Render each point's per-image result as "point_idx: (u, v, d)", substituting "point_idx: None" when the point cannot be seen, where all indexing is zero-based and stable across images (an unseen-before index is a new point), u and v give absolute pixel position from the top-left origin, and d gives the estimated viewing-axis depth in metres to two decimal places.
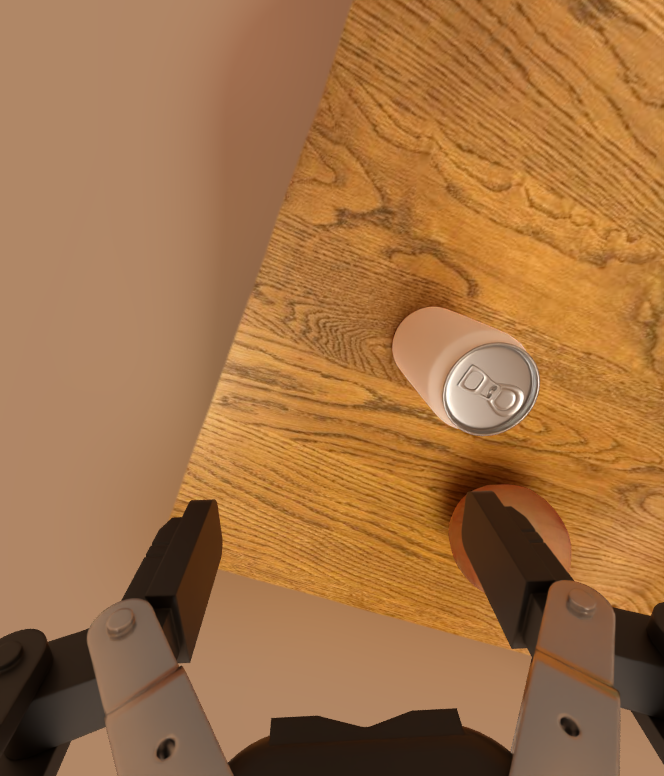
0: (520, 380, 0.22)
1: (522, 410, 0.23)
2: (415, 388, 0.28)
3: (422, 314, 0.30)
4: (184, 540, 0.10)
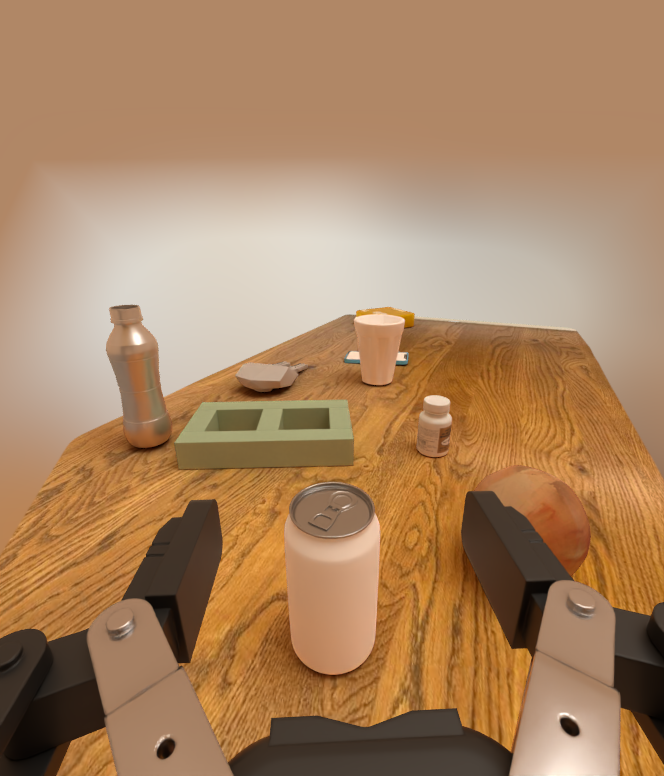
0: (325, 494, 0.27)
1: (351, 490, 0.28)
2: (357, 604, 0.25)
3: (291, 629, 0.28)
4: (184, 540, 0.10)
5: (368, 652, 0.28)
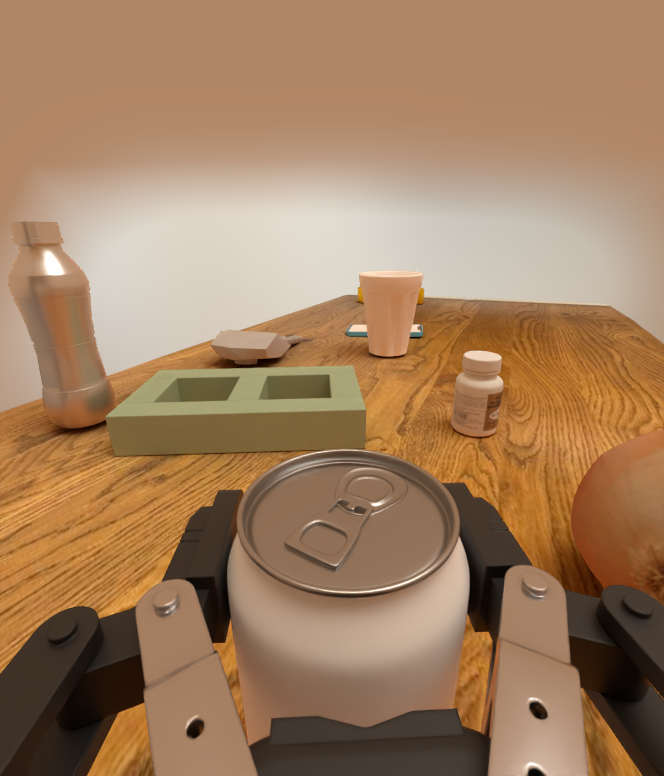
0: (329, 473, 0.12)
1: (389, 467, 0.12)
2: None
3: None
4: (217, 527, 0.11)
5: None
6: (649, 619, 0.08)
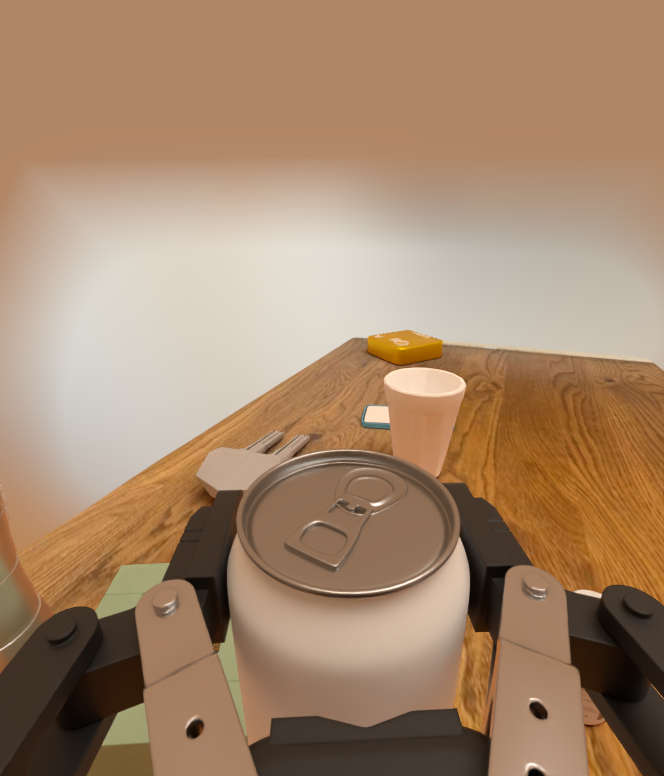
0: (329, 474, 0.12)
1: (389, 467, 0.12)
2: None
3: None
4: (216, 527, 0.11)
5: None
6: (650, 619, 0.08)
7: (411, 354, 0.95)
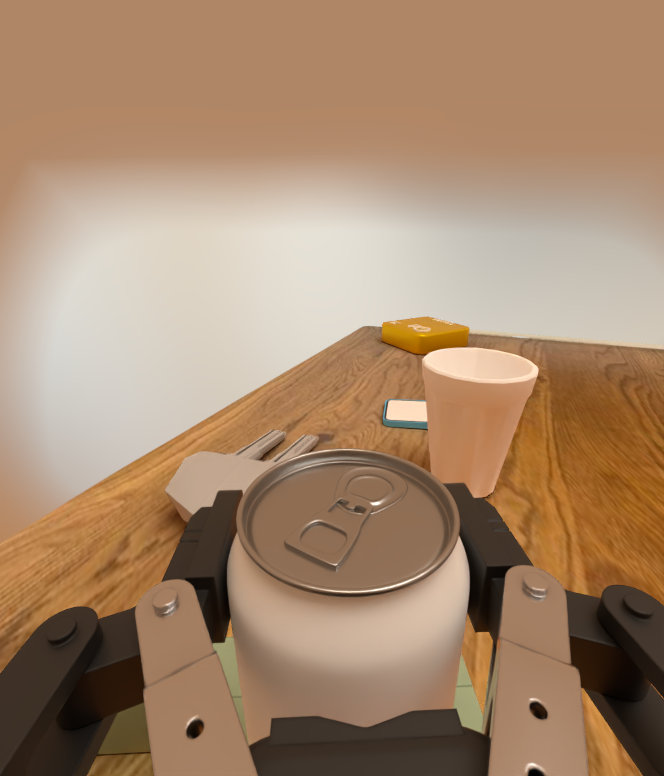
0: (329, 473, 0.12)
1: (389, 466, 0.12)
2: None
3: None
4: (216, 527, 0.11)
5: None
6: (649, 619, 0.08)
7: (434, 342, 0.82)
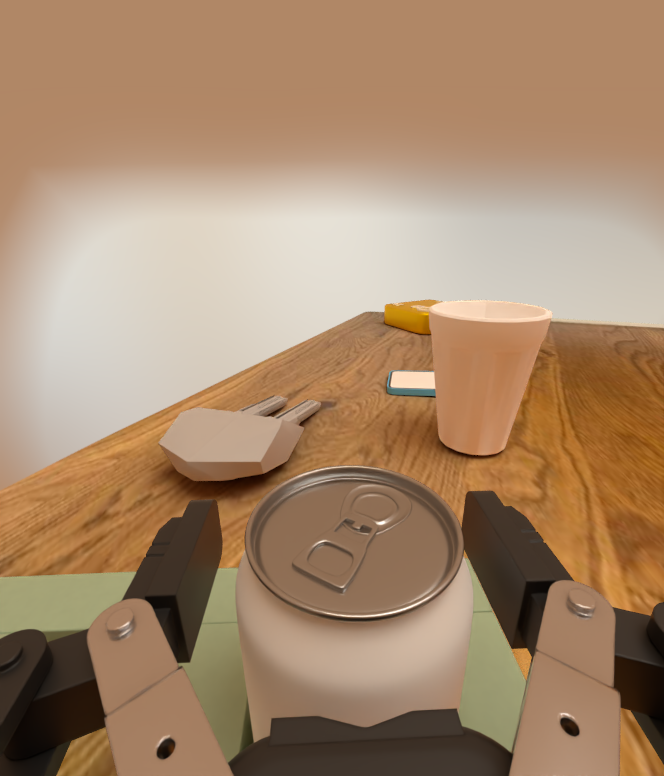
0: (334, 491, 0.12)
1: (393, 484, 0.12)
2: None
3: None
4: (184, 540, 0.10)
5: None
6: None
7: None
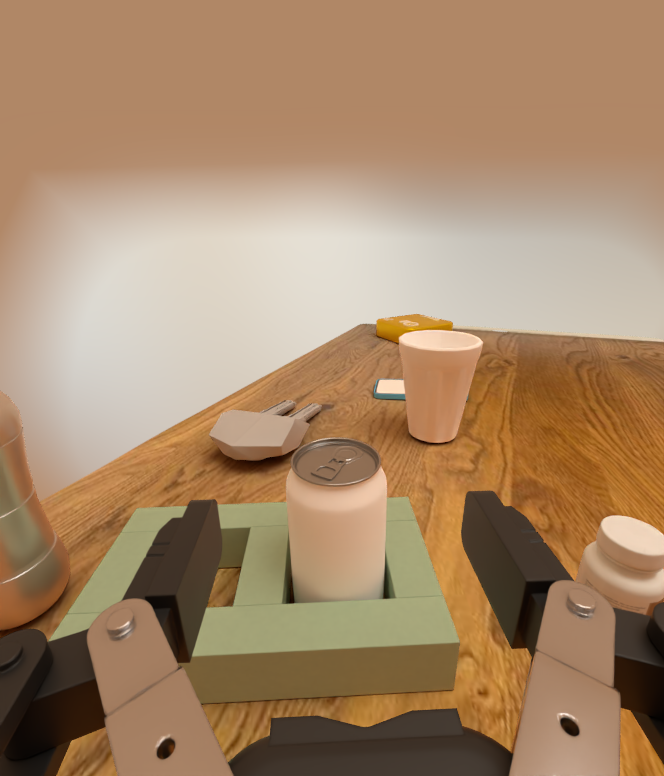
0: (328, 448, 0.26)
1: (356, 445, 0.27)
2: (364, 560, 0.24)
3: (295, 592, 0.26)
4: (184, 540, 0.10)
5: None
6: None
7: None
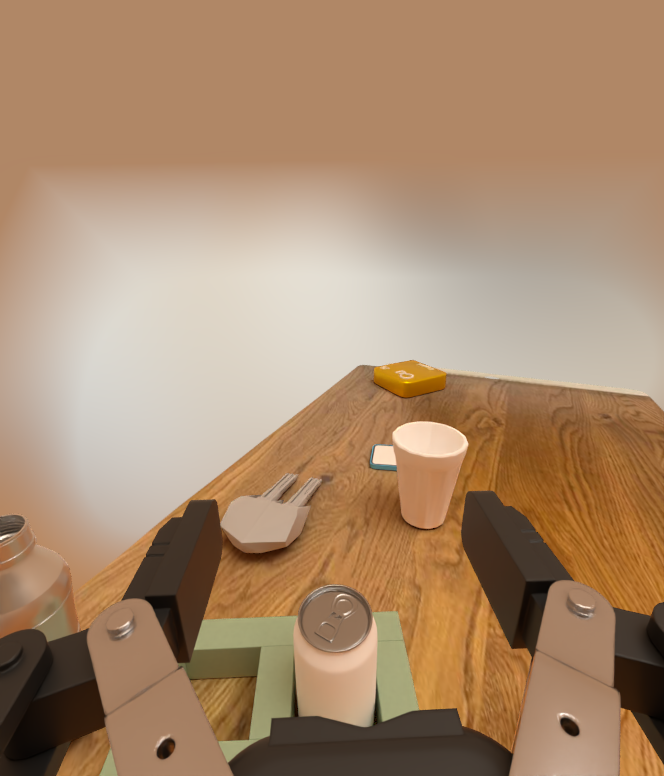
0: (328, 597, 0.31)
1: (352, 593, 0.31)
2: (357, 702, 0.29)
3: (300, 716, 0.31)
4: (184, 540, 0.10)
5: None
6: None
7: (416, 388, 0.99)
